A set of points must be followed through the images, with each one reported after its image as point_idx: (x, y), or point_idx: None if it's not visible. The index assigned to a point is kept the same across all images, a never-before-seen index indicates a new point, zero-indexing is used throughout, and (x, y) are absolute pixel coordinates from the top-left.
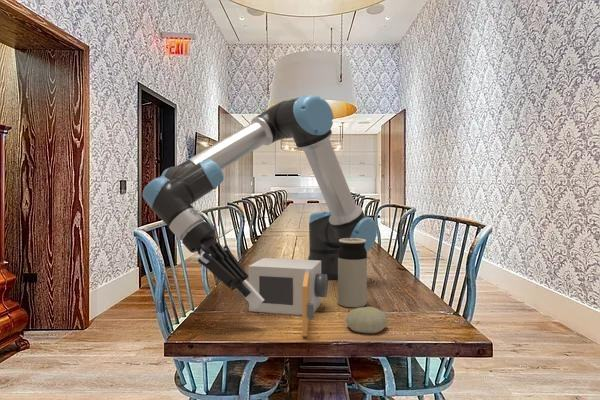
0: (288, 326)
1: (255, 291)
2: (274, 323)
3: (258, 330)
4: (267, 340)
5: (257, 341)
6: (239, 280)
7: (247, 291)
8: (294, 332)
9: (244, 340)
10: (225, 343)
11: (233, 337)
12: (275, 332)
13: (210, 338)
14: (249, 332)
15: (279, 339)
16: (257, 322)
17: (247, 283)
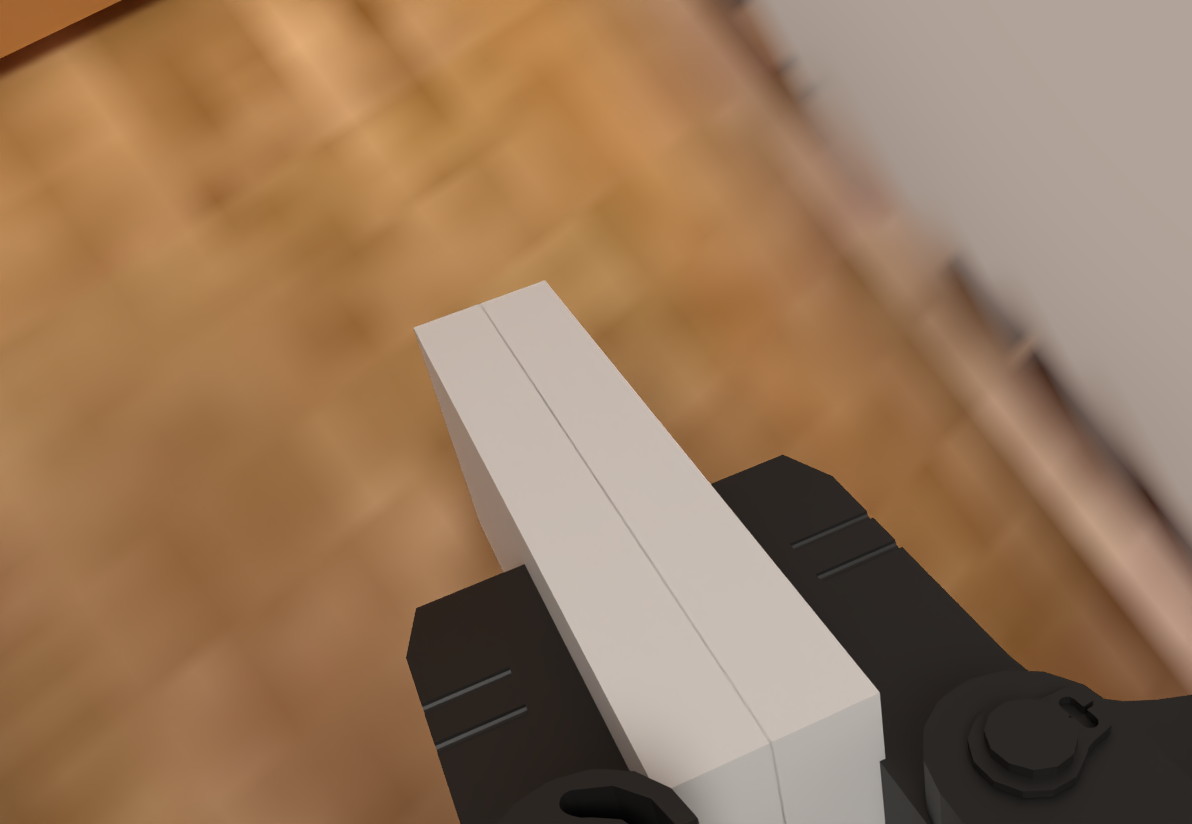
0: (192, 216)
1: (561, 438)
2: (192, 457)
3: None
4: (764, 142)
5: (862, 217)
6: (1110, 705)
7: (828, 489)
8: (348, 30)
9: (940, 364)
10: (1153, 486)
11: (962, 550)
12: (491, 223)
13: None
14: None
15: (652, 49)
16: (301, 707)
17: (724, 620)
